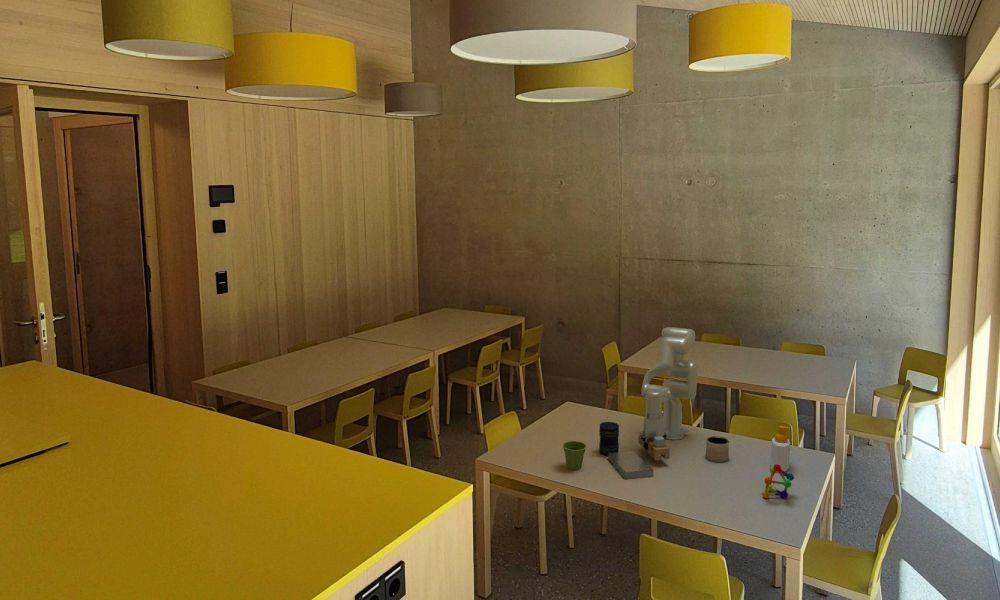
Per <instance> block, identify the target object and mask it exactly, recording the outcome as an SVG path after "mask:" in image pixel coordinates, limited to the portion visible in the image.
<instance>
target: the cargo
mask: <svg viewBox="0 0 1000 600" xmlns="http://www.w3.org/2000/svg"><path fill="white" fill-rule="evenodd" d="M665 442H666V439H664V438H663V437H662V436H656V437H654V445H655V446H656V447H657V448H659V447H665V444H666V443H665Z"/></svg>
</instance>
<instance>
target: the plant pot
mask: <svg viewBox="0 0 1000 600" xmlns="http://www.w3.org/2000/svg"><path fill="white" fill-rule="evenodd" d="M561 446H562V448H563V451H564V456H565V457H564V458H565V462H566V464H565V465H566V469H568V470H569V469H570V470H572V471H578V470H580V469H582V466H583V461H584V457H585V452H586V449H587V448H588V445H587V444H586V443H584V442H583V441H577V440H568V441H565V442H563V443H562V445H561Z"/></svg>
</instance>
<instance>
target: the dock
mask: <svg viewBox="0 0 1000 600" xmlns="http://www.w3.org/2000/svg"><path fill="white" fill-rule="evenodd" d="M607 460H608V461H609V462H610V464H612V466H613V467H614V468H615V469H616V471H617V472H618V473H619V475H620V476H621V477H622V478H623V479H624V480H629V479H630V480H631V479H641V478H650V477H654V469H653V468H651V466H650V465H649V464H648V463H647V462H646V461H645V460H644V459H643V458H642V456H640V455H639V454H638V453H637V452H636V451H635V450H629V451H618V452H616V453H608V457H607Z"/></svg>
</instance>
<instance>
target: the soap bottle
mask: <svg viewBox="0 0 1000 600" xmlns="http://www.w3.org/2000/svg"><path fill="white" fill-rule="evenodd" d="M785 430H791V427H790V426H786V425H779V426H778V433H776V434H775V435H774V437H772V439H771V448H770V449H771V451H770V467H774V465H775V464H779V465H780V466H781V469H782V470H783V471H784V472H787V471H789V469H790V453H791V442H790V440H789V438H788V436H787V434H785Z"/></svg>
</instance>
